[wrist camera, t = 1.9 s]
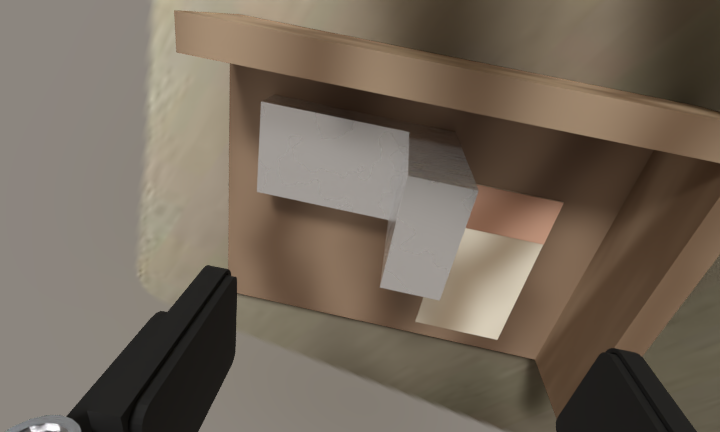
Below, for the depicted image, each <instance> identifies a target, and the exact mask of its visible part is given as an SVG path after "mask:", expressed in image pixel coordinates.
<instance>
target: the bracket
mask: <svg viewBox="0 0 720 432" xmlns="http://www.w3.org/2000/svg"><path fill="white" fill-rule="evenodd" d="M478 191H479V190H478V188H477V185H476V183H475V180H474V177H473V175H472V172H471V170H470V167H469V165H468V162H467V160H466V157H465V155H464V152H463V150H462V147H461V145H460V142H459V140H458V137H457V135H456V132H453V131H448V130H443V129H438V128H433V127H428V126H424V125H419V124H414V123H409V122H404V121H399V120H394V119H390V118H385V117H380V116H375V115H370V114H365V113H360V112H356V111H351V110H346V109H341V108H336V107H331V106H326V105H322V104H317V103H312V102H307V101H302V100H297V99H292V98H288V97H283V96H278V95H273V96H271V97H269V98H267V99H265V100H263V101H261V114H260V135H259V156H258V177H257V192H260V193H265V194H269V195H274V196H279V197H283V198H288V199H293V200H297V201H302V202H307V203H311V204H316V205H321V206H325V207H330V208H335V209H339V210H344V211H349V212H353V213H358V214H363V215H367V216H372V217H377V218H381V219H386V220H388V226H387V234H386V242H385V250H384V258H383V266H382V274H381V282H380V288H385V289H389V290H394V291H398V292H403V293H407V294H412V295H417V296H421V297H426V298H430V299H435V300H439V301H440V298H441V295H442V293H443V290H444V287H445V284H446V281H447V279H448V276H449V273H450V270H451V267H452V264H453V262H454V259H455V256H456V253H457V250H458V248H459V245H460V242H461V239H462V236H463V234H464V231H465V228H466V225H467V222H468V220H469V217H470V214H471V211H472V208H473V206H474V203H475V200H476V197H477V194H478Z"/></svg>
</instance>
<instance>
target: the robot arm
mask: <svg viewBox="0 0 720 432" xmlns="http://www.w3.org/2000/svg"><path fill="white" fill-rule="evenodd" d="M236 310H237V277H234V276H231V271H230V270H229V269H224V268H219V267H214V266H209V265H207V266H205V267H204V268H203V269H202V271H201V272H200V273H199V274H198V276H197V277H196V278H195V279H194V280H193V282H192V283H191V284H190V285H189V287H188V288H187V289H186V290H185V291H184V293H183V294H182V295H181V296H180V297H179V299H178V300H177V301H176V302H175V304H174V305H173V306H172V307H171V308H170V310H169V311H168V312H164V311H160V312H158V313H156V314H155V315H154V316H153V317H152V318H151V319H150V320H149V321H148V322H147V323H146V325H145V326H144V327H143V328H142V329H141V330H140V331H139V333H138V334H137V335H136V336H135V337H134V338H133V340H132V341H131V342H130V343H129V344H128V345H127V347H126V348H125V349H124V350H123V351H122V352H121V354H120V355H119V356H118V357H117V358H116V359H115V361H114V362H113V363H112V364H111V365H110V366H109V368H108V369H107V370H106V371H105V372H104V373H103V374H102V376H101V377H100V378H99V379H98V380H97V382H96V383H95V384H94V385H93V386H92V387H91V389H90V390H89V391H88V392H87V393H86V394H85V396H84V397H83V398H82V399H81V400H80V401H79V403H78V404H77V405H76V406H75V407H74V408H73V409H72V411H71V412H70V413H69V414H68V415H67V416H66V417H65V416H61V415H46V416H41V417H37V418H33V419H29V420H27V421H25V422H22V423H20V424H18V425H16V426H13V427H12V428H10V429H8V430H7V431H5V432H198V431H199V429H200V427H201V425H202V423H203V421H204V419H205V417H206V415H207V413H208V411H209V409H210V407H211V404H212V403H213V401H214V399H215V397H216V395H217V393H218V391H219V389H220V387H221V385H222V383H223V381H224V379H225V377H226V375H227V373H228V371H229V369H230V367H231V365H232V363H233V360H234V356H235V346H236ZM556 431H557V432H697V431H696V430H695V429H694V427H693V426H692V425H691V423H690V422H689V421H688V419H687V418H686V416H685V415H684V414H683V412H682V411H681V410H680V408H679V407H678V405H677V404H676V403H675V401H674V400H673V399H672V397H671V396H670V394H669V393H668V392H667V390H666V389H665V388H664V386H663V385H662V383H661V382H660V381H659V379H658V378H657V377H656V375H655V374H654V372H653V371H652V370H651V368H650V367H649V366H648V364H647V363H646V361H645V360H644V359H643V358H642V357H641V355H640V354H638V353H636V352H631V351H626V350H621V349H616V348H610V349H608V350H607V351H606V352H603V353H601V354H600V355H599V356H598V357H597V359H596V360H595V362H594V363H593V365H592V366H591V368H590V369H589V371H588V372H587V374H586V375H585V377H584V378H583V380H582V381H581V383H580V384H579V386H578V387H577V389H576V390H575V392H574V393H573V395H572V396H571V398H570V399H569V401H568V402H567V404H566V405H565V407H564V408H563V410H562V411H561V413H560V414H559V416H558V417H557V420H556Z"/></svg>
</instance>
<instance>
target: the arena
mask: <svg viewBox="0 0 720 432" xmlns="http://www.w3.org/2000/svg"><path fill="white" fill-rule="evenodd" d="M174 16H175V34H176V52H177V53H182V54H187V55H192V56H197V57H202V58H207V59H212V60H216V61H221V62H226V63H230V123H229V248H228V269H229V270H230V271H231V276H234V277H237V293H239V294H244V295H248V296H253V297H257V298H262V299H266V300H271V301H275V302H280V303H284V304H289V305H293V306H298V307H302V308H306V309H311V310H315V311H320V312H324V313H329V314H333V315H338V316H342V317H347V318H351V319H356V320H360V321H365V322H369V323H374V324H378V325H383V326H387V327H392V328H396V329H400V330H405V331H409V332H414V333H418V334H423V335H427V336H432V337H436V338H441V339H445V340H450V341H454V342H459V343H463V344H468V345H472V346H477V347H481V348H486V349H490V350H495V351H499V352H503V353H508V354H512V355H517V356H521V357H526V358H530V359H535V361H536V364H537V366H538V369H539V372H540V375H541V377H542V380H543V383H544V386H545V388H546V391H547V394H548V397H549V399H550V402H551V405H552V408H553V410H554V413H555V416H556V419H557V417H558V416H559V414H560V413H561V411H562V410H563V408H564V407H565V405H566V404H567V402H568V401H569V399H570V398H571V396H572V395H573V393H574V392H575V390H576V389H577V387H578V386H579V384H580V383H581V381H582V380H583V378H584V377H585V375H586V374H587V372H588V371H589V369H590V368H591V366H592V365H593V363H594V362H595V360H596V359H597V357H598V356H599V355H600V354H601V353H603V352H606V351H607V350H608V349H610V348H616V349H621V350H626V351H631V352H636V353H638V354H640V355H641V357H642V356H643V355H644V354H645V352H646V351H647V350H648V348H649V347H650V346H651V344H652V343H653V342H654V340H655V339H656V338H657V336H658V335H659V334H660V333H661V331H662V330H663V329H664V327H665V326H666V325H667V323H668V322H669V321H670V319H671V318H672V317H673V315H674V314H675V313H676V311H677V310H678V309H679V308H680V306H681V305H682V304H683V302H684V301H685V300H686V298H687V297H688V296H689V294H690V293H691V292H692V290H693V289H694V288H695V286H696V285H697V284H698V282H699V281H700V280H701V279H702V277H703V276H704V275H705V273H706V272H707V271H708V269H709V268H710V267H711V265H712V264H713V263H714V261H715V260H716V259H717V257H718V256H719V255H720V112H717V111H714V110H710V109H707V108H703V107H700V106H696V105H691V104H686V103H681V102H676V101H671V100H666V99H661V98H656V97H651V96H646V95H641V94H636V93H631V92H626V91H621V90H616V89H611V88H606V87H601V86H596V85H591V84H586V83H581V82H576V81H571V80H565V79H560V78H555V77H550V76H545V75H540V74H535V73H530V72H525V71H520V70H515V69H510V68H505V67H500V66H495V65H490V64H485V63H480V62H475V61H470V60H465V59H460V58H455V57H450V56H445V55H440V54H435V53H430V52H425V51H420V50H415V49H410V48H405V47H400V46H395V45H390V44H385V43H380V42H375V41H370V40H365V39H360V38H355V37H350V36H345V35H340V34H335V33H330V32H325V31H320V30H315V29H310V28H305V27H300V26H295V25H290V24H285V23H280V22H275V21H270V20H265V19H260V18H255V17H250V16H245V15H240V14H226V13H209V12H192V11H175V10H174ZM273 95H278V96H283V97H288V98H292V99H297V100H302V101H307V102H312V103H317V104H322V105H326V106H331V107H336V108H341V109H346V110H351V111H356V112H360V113H365V114H370V115H375V116H380V117H385V118H390V119H394V120H399V121H404V122H409V123H414V124H419V125H424V126H428V127H433V128H438V129H443V130H448V131H453V132H456V135H457V137H458V140H459V142H460V145H461V147H462V150H463V152H464V155H465V157H466V160H467V162H468V165H469V167H470V170H471V172H472V175H473V177H474V180H475V183H476V185H477V188H478V190H479V191H478V194H477V197H476V200H475V203H474V206H473V208H472V211H471V214H470V217H469V220H468V222H467V225H466V228H465V231H464V234H463V236H462V239H461V242H460V245H459V248H458V250H457V253H456V256H455V259H454V262H453V264H452V267H451V270H450V273H449V276H448V279H447V281H446V284H445V287H444V290H443V293H442V295H441V298H440V301H439V300H435V299H430V298H426V297H421V296H417V295H412V294H407V293H403V292H398V291H394V290H389V289H385V288H380V282H381V274H382V266H383V258H384V250H385V242H386V234H387V226H388V220H386V219H381V218H377V217H372V216H367V215H363V214H358V213H353V212H349V211H344V210H339V209H335V208H330V207H325V206H321V205H316V204H311V203H307V202H302V201H297V200H293V199H288V198H283V197H279V196H274V195H269V194H265V193H260V192H257V177H258V156H259V135H260V114H261V101H263V100H265V99H267V98H269V97H271V96H273Z"/></svg>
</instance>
